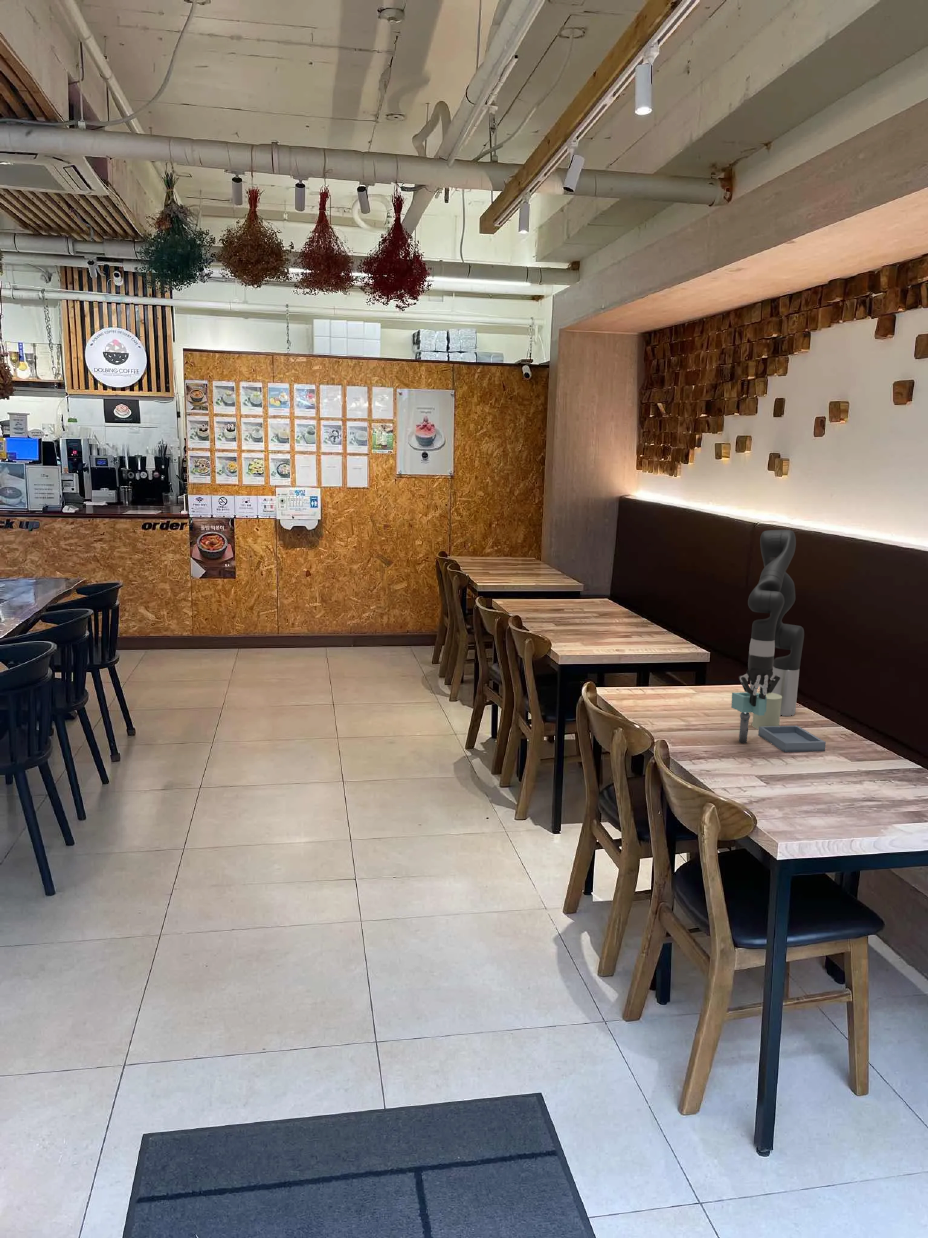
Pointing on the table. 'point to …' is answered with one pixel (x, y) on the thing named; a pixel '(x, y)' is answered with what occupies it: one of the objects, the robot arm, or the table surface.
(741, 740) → the dark grey peg
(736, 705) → the teal block with hole
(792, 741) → the tray
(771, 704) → the can
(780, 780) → the table surface
